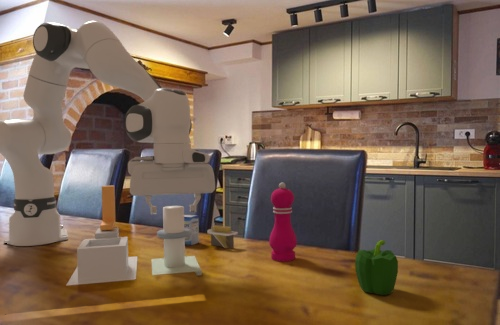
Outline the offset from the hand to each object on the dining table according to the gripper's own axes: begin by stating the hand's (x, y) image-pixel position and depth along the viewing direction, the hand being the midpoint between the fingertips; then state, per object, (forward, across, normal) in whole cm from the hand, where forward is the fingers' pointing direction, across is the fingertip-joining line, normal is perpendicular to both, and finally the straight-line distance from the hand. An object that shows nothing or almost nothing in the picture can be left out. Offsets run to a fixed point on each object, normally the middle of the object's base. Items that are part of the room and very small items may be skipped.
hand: (173, 213), depth 100 cm
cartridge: (+13, 0, 0) cm, 13 cm away
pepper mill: (+14, +28, +1) cm, 31 cm away
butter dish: (+14, +15, +18) cm, 28 cm away
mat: (+14, 0, 0) cm, 14 cm away
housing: (+14, -16, +1) cm, 21 cm away
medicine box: (+14, +5, +27) cm, 31 cm away
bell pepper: (+14, +38, -28) cm, 49 cm away
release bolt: (+4, -16, +9) cm, 19 cm away
